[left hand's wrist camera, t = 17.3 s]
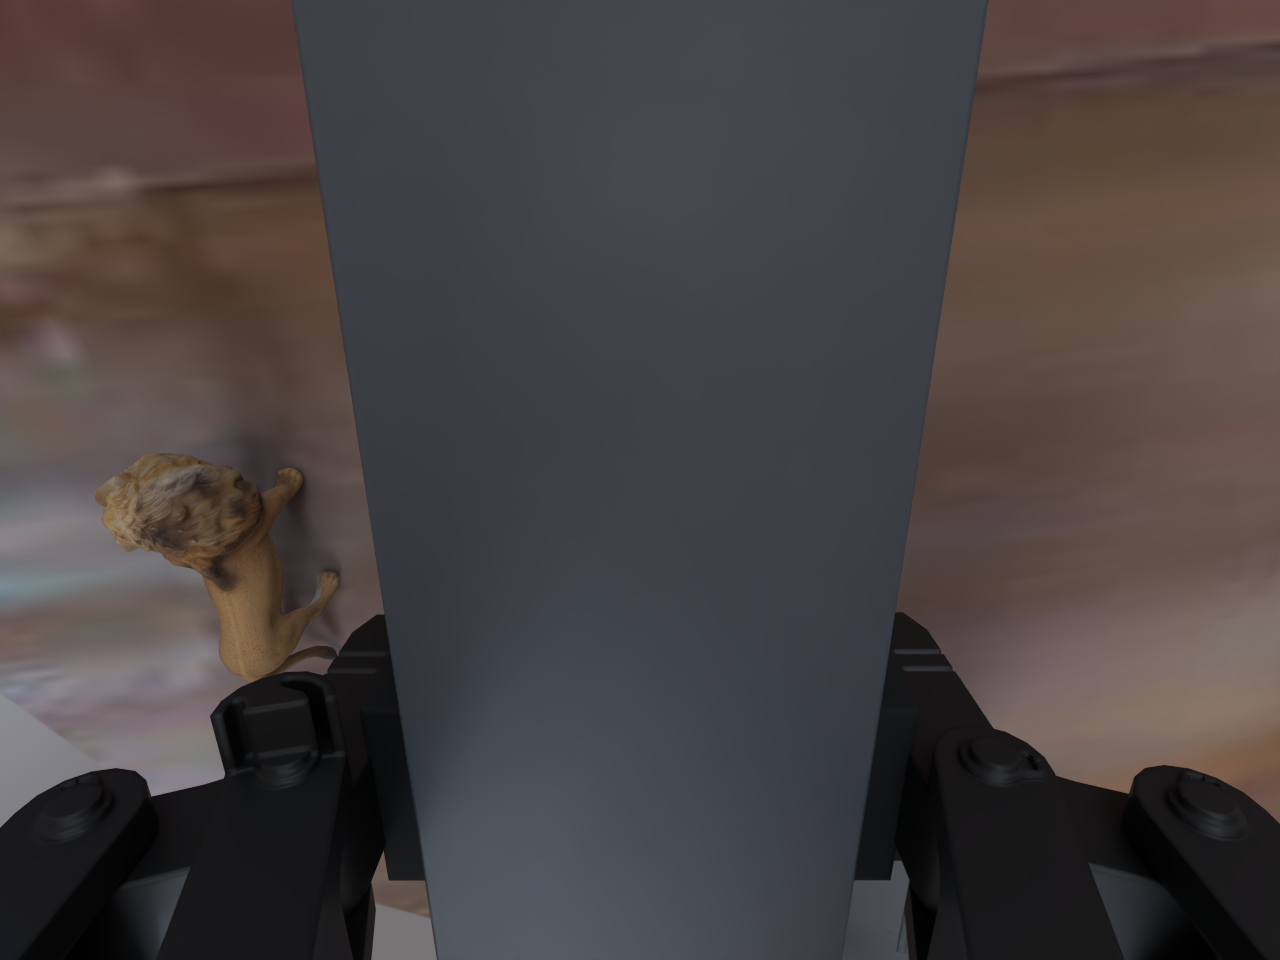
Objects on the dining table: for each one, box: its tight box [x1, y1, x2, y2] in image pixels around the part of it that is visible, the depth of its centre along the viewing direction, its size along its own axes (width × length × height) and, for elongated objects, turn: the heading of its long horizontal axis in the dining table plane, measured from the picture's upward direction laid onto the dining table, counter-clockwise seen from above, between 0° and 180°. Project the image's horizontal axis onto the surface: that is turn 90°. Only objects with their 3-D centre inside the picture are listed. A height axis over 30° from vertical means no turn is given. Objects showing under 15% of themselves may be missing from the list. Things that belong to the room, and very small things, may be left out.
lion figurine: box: [95, 453, 339, 683], centre depth 34 cm, size 15×5×9 cm, turn 15°
